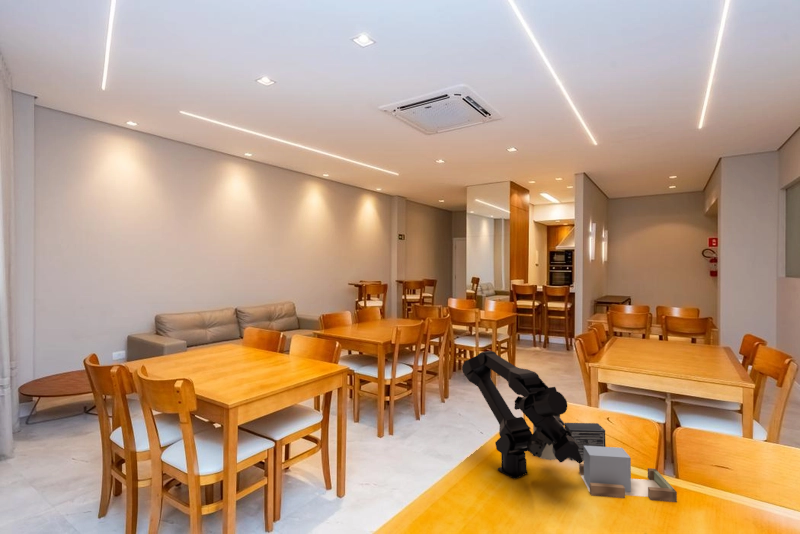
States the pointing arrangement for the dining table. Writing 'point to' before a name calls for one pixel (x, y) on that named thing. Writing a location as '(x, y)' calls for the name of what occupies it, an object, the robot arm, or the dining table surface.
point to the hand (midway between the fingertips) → (580, 462)
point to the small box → (586, 435)
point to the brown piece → (635, 487)
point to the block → (607, 466)
